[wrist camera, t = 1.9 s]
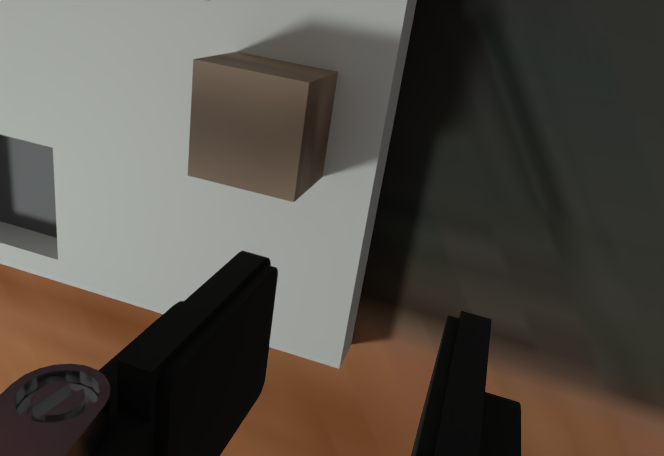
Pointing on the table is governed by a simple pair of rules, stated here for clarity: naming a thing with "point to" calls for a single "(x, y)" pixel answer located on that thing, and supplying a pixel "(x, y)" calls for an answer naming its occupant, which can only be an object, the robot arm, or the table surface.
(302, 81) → the walnut block
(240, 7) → the trap board
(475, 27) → the table surface
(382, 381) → the table surface
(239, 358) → the robot arm
